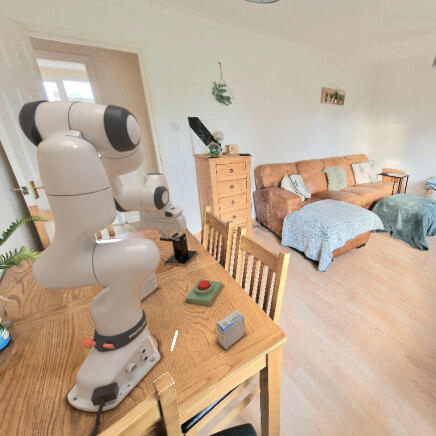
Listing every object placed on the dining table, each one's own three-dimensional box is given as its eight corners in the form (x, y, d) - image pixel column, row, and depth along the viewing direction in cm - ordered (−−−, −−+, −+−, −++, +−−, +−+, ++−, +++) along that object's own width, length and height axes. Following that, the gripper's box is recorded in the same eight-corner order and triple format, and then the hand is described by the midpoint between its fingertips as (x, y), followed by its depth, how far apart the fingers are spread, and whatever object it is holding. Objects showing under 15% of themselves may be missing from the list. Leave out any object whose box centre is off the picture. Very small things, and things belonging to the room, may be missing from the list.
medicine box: (237, 327, 84) (235, 309, 81) (245, 335, 82) (244, 315, 78) (217, 342, 78) (215, 322, 75) (226, 350, 76) (224, 330, 73)
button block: (209, 305, 93) (209, 297, 92) (186, 302, 95) (184, 294, 93) (222, 286, 104) (221, 278, 103) (200, 283, 106) (199, 276, 104)
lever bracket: (184, 266, 117) (181, 241, 112) (166, 263, 118) (161, 239, 113) (197, 253, 128) (194, 230, 123) (179, 251, 129) (176, 228, 124)
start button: (206, 291, 96) (206, 287, 95) (196, 289, 96) (196, 286, 96) (211, 284, 100) (211, 280, 99) (201, 282, 100) (201, 279, 100)
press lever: (170, 242, 108) (171, 237, 108) (159, 241, 108) (159, 236, 108) (185, 240, 120) (185, 235, 120) (175, 239, 120) (175, 234, 120)
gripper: (133, 210, 101) (139, 238, 107) (178, 214, 99) (182, 243, 104) (143, 205, 107) (149, 232, 112) (186, 209, 105) (190, 237, 110)
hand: (165, 238), depth 108 cm, fingers closed
